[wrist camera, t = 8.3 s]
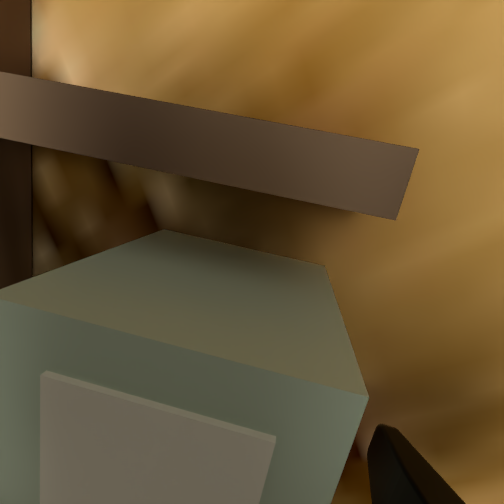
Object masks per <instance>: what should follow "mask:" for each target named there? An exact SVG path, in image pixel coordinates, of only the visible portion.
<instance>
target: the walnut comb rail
mask: <svg viewBox="0 0 504 504" xmlns="http://www.w3.org/2000/svg"><path fill="white" fill-rule="evenodd" d="M31 144H32V145H37V146H42V147H47V148H52V149H56V150H61V151H66V152H71V153H75V154H80V155H85V156H90V157H95V158H99V159H104V160H109V161H114V162H119V163H123V164H128V165H133V166H138V167H142V168H147V169H152V170H157V171H162V172H166V173H171V174H176V175H181V176H186V177H190V178H195V179H200V180H205V181H209V182H214V183H219V184H224V185H229V186H233V187H238V188H243V189H248V190H252V191H257V192H262V193H267V194H272V195H276V196H281V197H286V198H291V199H296V200H300V201H305V202H310V203H315V204H319V205H324V206H329V207H334V208H339V209H343V210H348V211H353V212H358V213H363V214H367V215H372V216H377V217H382V218H386V219H391V220H396V218H397V215H398V212H399V209H400V206H401V203H402V200H403V197H404V194H405V191H406V188H407V185H408V182H409V179H410V176H411V173H412V170H413V167H414V164H415V161H416V158H417V155H418V152H419V149H416V148H411V147H406V146H400V145H395V144H389V143H384V142H379V141H373V140H368V139H362V138H357V137H352V136H346V135H341V134H335V133H330V132H324V131H319V130H314V129H308V128H303V127H297V126H292V125H287V124H281V123H276V122H270V121H265V120H260V119H254V118H249V117H243V116H238V115H233V114H227V113H222V112H216V111H211V110H206V109H200V108H195V107H189V106H184V105H179V104H173V103H168V102H162V101H157V100H152V99H146V98H141V97H135V96H130V95H124V94H119V93H114V92H108V91H103V90H97V89H92V88H87V87H81V86H76V85H70V84H65V83H60V82H54V81H49V80H43V79H38V78H33V77H31V28H30V0H0V289H2V288H5V287H8V286H10V285H13V284H16V283H19V282H21V281H24V280H27V279H30V278H32V228H31Z"/></svg>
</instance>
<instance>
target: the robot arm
mask: <svg viewBox="0 0 504 504" xmlns="http://www.w3.org/2000/svg"><path fill="white" fill-rule="evenodd" d="M367 460H368V470H369V479H370V489H371V498H372V504H466V503H465V502H464V501H463V500H462V499H461V498H460V497H459V496H458V495H457V494H456V493H455V491H454V490H453V489H452V488H451V487H450V486H449V485H448V484H447V483H446V482H445V481H444V479H443V478H442V477H441V476H440V475H439V474H438V473H437V472H436V471H435V470H434V469H433V467H432V466H431V465H430V464H429V463H428V462H427V461H426V460H425V459H424V458H423V457H422V455H421V454H420V453H419V452H418V451H417V450H416V449H415V448H414V447H413V446H412V445H411V443H410V442H409V441H408V440H407V439H406V438H405V437H404V436H403V435H402V434H401V433H400V431H399V430H397V429H396V428H394V427H391V426H387V425H384V424H379V425H378V426H377V427H376V429H375V432H374V435H373V437H372V440H371V443H370V445H369V448H368V453H367Z"/></svg>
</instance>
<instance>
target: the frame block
mask: <svg viewBox="0 0 504 504" xmlns="http://www.w3.org/2000/svg"><path fill="white" fill-rule="evenodd" d="M368 399H369V395H368V392H367V389H366V386H365V383H364V380H363V377H362V374H361V371H360V369H359V366H358V363H357V360H356V357H355V354H354V351H353V348H352V345H351V342H350V339H349V336H348V333H347V330H346V327H345V324H344V321H343V318H342V315H341V312H340V309H339V306H338V304H337V301H336V298H335V295H334V292H333V289H332V286H331V283H330V280H329V277H328V274H327V271H326V268H325V266H323V265H319V264H314V263H310V262H306V261H301V260H297V259H293V258H288V257H284V256H279V255H275V254H271V253H266V252H262V251H258V250H253V249H249V248H244V247H240V246H236V245H231V244H227V243H222V242H218V241H214V240H209V239H205V238H201V237H196V236H192V235H187V234H183V233H179V232H174V231H170V230H166V229H163V230H161V231H158V232H155V233H152V234H150V235H147V236H144V237H142V238H139V239H136V240H133V241H131V242H128V243H125V244H122V245H120V246H117V247H114V248H112V249H109V250H106V251H103V252H101V253H98V254H95V255H92V256H90V257H87V258H84V259H81V260H79V261H76V262H73V263H71V264H68V265H65V266H62V267H60V268H57V269H54V270H51V271H49V272H46V273H43V274H40V275H38V276H35V277H32V278H30V279H27V280H24V281H21V282H19V283H16V284H13V285H10V286H8V287H5V288H2V289H0V504H331V501H332V498H333V496H334V493H335V490H336V487H337V485H338V482H339V479H340V476H341V474H342V471H343V468H344V465H345V463H346V460H347V457H348V454H349V452H350V449H351V446H352V443H353V441H354V438H355V435H356V432H357V430H358V427H359V424H360V421H361V418H362V416H363V413H364V410H365V407H366V405H367V402H368Z"/></svg>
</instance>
